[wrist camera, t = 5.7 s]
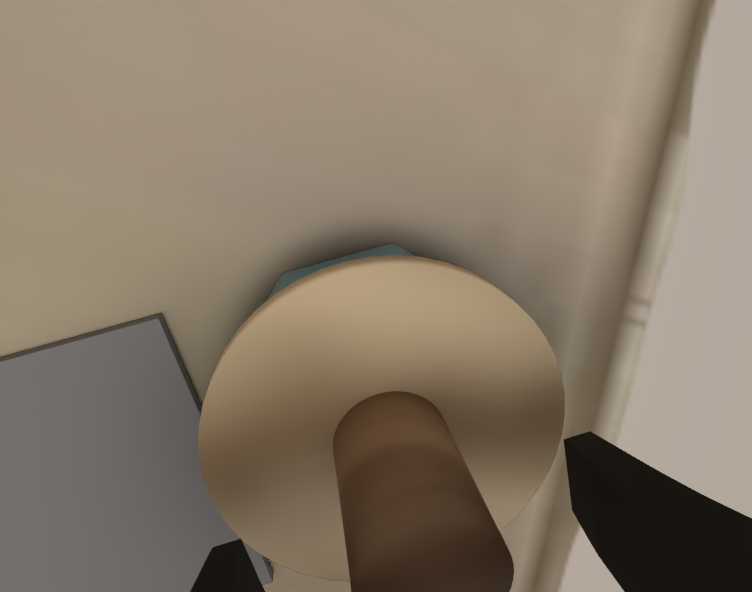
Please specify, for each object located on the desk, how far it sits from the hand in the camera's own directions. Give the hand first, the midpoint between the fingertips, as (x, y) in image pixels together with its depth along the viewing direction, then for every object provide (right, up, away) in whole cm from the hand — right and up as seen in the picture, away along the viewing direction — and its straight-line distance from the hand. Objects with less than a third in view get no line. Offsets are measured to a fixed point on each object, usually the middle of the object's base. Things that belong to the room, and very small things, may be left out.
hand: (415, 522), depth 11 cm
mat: (-11, -2, +6) cm, 13 cm away
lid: (-1, +1, +3) cm, 3 cm away
